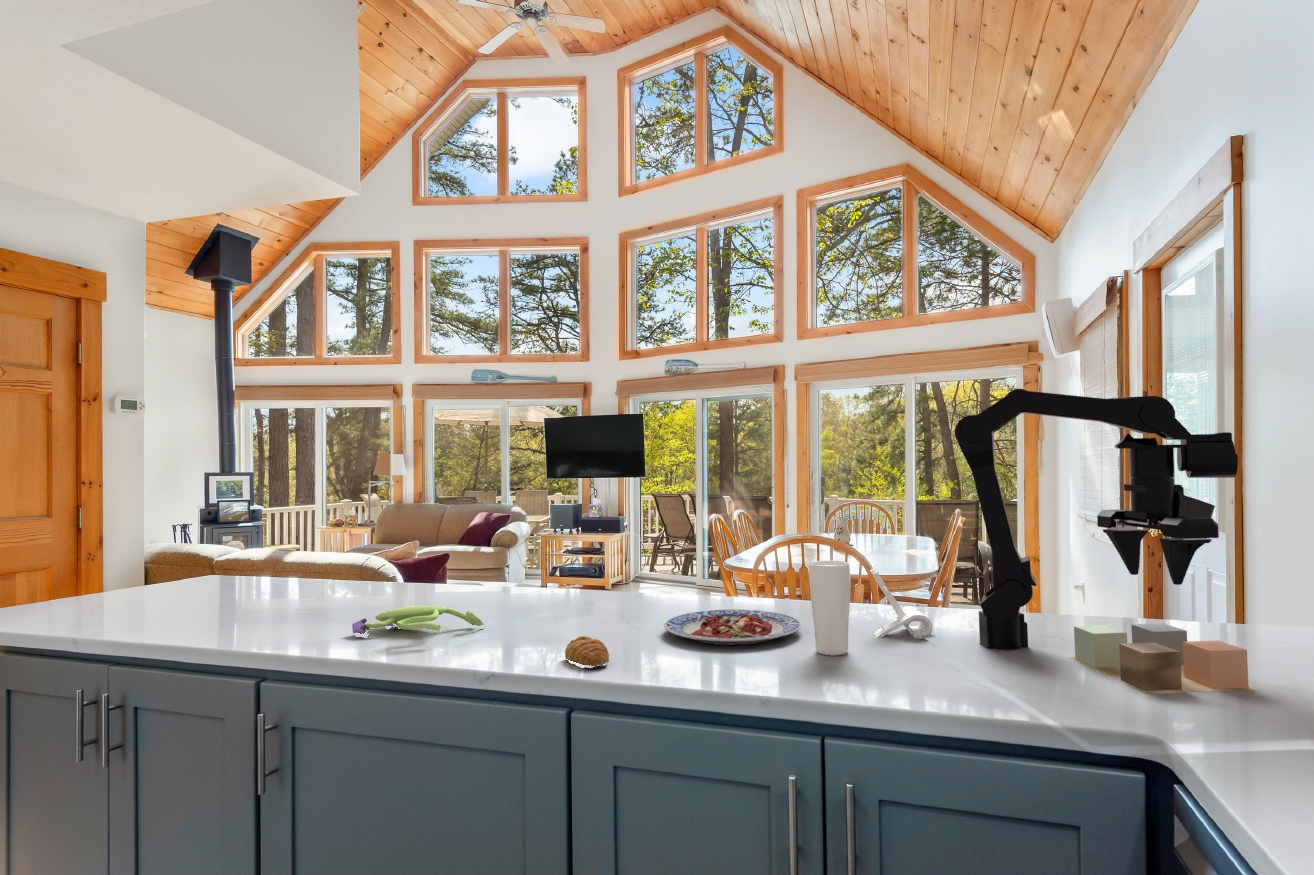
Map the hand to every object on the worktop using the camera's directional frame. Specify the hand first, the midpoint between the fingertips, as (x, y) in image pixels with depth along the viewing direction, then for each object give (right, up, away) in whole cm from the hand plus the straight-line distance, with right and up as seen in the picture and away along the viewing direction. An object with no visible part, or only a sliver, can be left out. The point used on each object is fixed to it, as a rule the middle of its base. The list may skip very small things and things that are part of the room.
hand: (1155, 579), depth 115 cm
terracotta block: (0, -12, -13) cm, 17 cm away
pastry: (-88, -16, +9) cm, 90 cm away
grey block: (-1, -12, -2) cm, 12 cm away
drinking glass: (-47, -15, +11) cm, 51 cm away
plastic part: (-31, -15, +23) cm, 42 cm away
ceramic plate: (-62, -16, +26) cm, 70 cm away
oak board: (-5, -13, -8) cm, 16 cm away
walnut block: (-9, -12, -13) cm, 20 cm away
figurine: (-125, -18, +34) cm, 130 cm away
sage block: (-10, -12, -2) cm, 16 cm away
